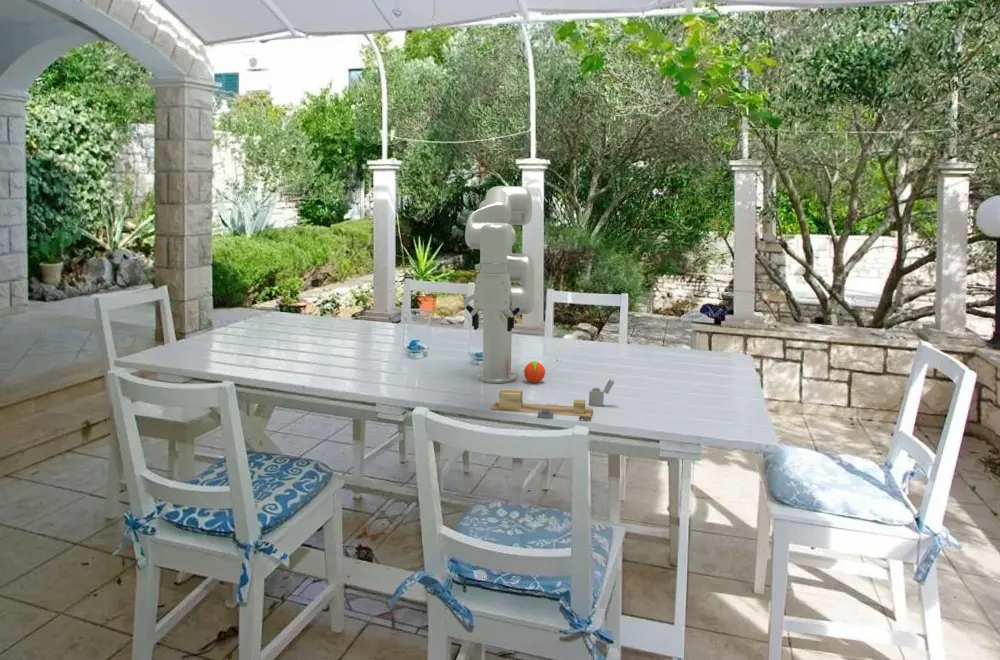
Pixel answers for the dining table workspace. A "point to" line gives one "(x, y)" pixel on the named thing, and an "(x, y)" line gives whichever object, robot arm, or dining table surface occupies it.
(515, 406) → the block
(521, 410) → the beam
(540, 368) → the clementine
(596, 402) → the lighter
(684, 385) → the dining table surface
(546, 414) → the fulcrum marker
